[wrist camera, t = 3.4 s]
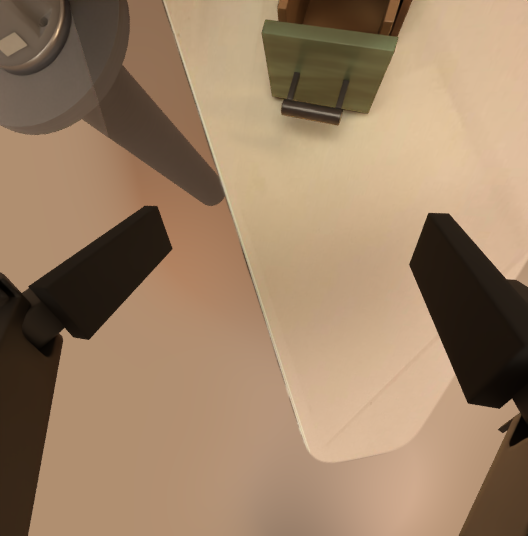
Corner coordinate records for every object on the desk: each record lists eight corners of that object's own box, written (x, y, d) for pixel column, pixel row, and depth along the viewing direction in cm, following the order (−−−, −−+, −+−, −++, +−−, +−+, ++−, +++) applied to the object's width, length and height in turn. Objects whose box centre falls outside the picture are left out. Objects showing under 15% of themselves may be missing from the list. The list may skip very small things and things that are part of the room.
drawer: (357, 149, 27) (379, 101, 20) (262, 130, 29) (248, 79, 21) (403, -5, 27) (444, -116, 19) (303, -15, 29) (304, -121, 21)
